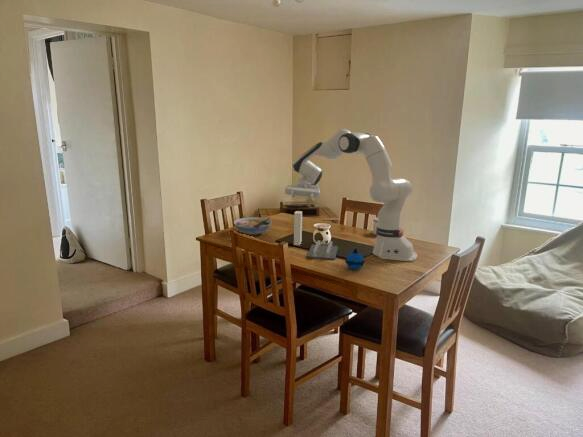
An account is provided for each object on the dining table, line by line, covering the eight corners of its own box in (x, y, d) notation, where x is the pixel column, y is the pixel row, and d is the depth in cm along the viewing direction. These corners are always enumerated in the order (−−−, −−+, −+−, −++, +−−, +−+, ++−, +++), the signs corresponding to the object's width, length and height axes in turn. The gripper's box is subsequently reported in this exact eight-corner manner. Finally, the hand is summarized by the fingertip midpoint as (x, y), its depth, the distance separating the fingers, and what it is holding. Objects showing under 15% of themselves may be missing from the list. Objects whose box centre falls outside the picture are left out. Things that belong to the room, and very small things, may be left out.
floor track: (312, 246, 237) (312, 240, 236) (337, 247, 235) (338, 241, 234) (306, 257, 218) (306, 251, 217) (334, 259, 216) (335, 253, 215)
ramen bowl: (243, 226, 274) (243, 214, 272) (278, 230, 267) (278, 217, 265) (226, 237, 251) (225, 223, 249) (262, 241, 244) (263, 227, 242)
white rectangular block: (295, 242, 244) (295, 211, 239) (301, 242, 243) (302, 211, 239) (293, 245, 239) (294, 213, 234) (300, 245, 238) (300, 213, 234)
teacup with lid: (381, 236, 258) (382, 217, 255) (369, 233, 264) (370, 214, 261) (393, 233, 265) (395, 214, 263) (381, 230, 272) (382, 211, 269)
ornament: (352, 264, 209) (353, 245, 207) (367, 269, 204) (368, 249, 201) (341, 269, 203) (342, 248, 201) (356, 274, 197) (357, 253, 195)
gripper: (286, 181, 257) (283, 188, 244) (320, 185, 256) (320, 192, 243) (285, 191, 259) (282, 199, 246) (319, 195, 258) (318, 203, 245)
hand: (301, 196), depth 245 cm, fingers open, 8 cm apart
